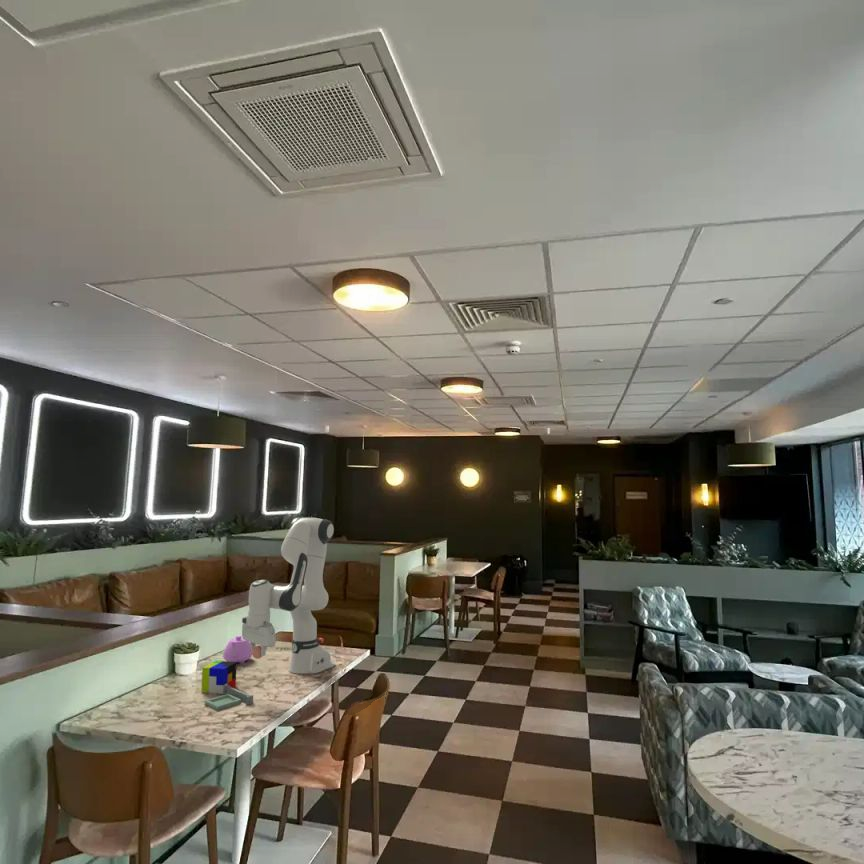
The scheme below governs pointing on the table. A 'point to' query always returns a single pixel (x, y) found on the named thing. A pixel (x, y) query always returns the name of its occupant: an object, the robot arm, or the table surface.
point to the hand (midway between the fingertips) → (258, 654)
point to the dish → (222, 702)
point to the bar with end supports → (238, 694)
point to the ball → (256, 652)
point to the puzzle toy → (218, 676)
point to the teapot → (237, 650)
